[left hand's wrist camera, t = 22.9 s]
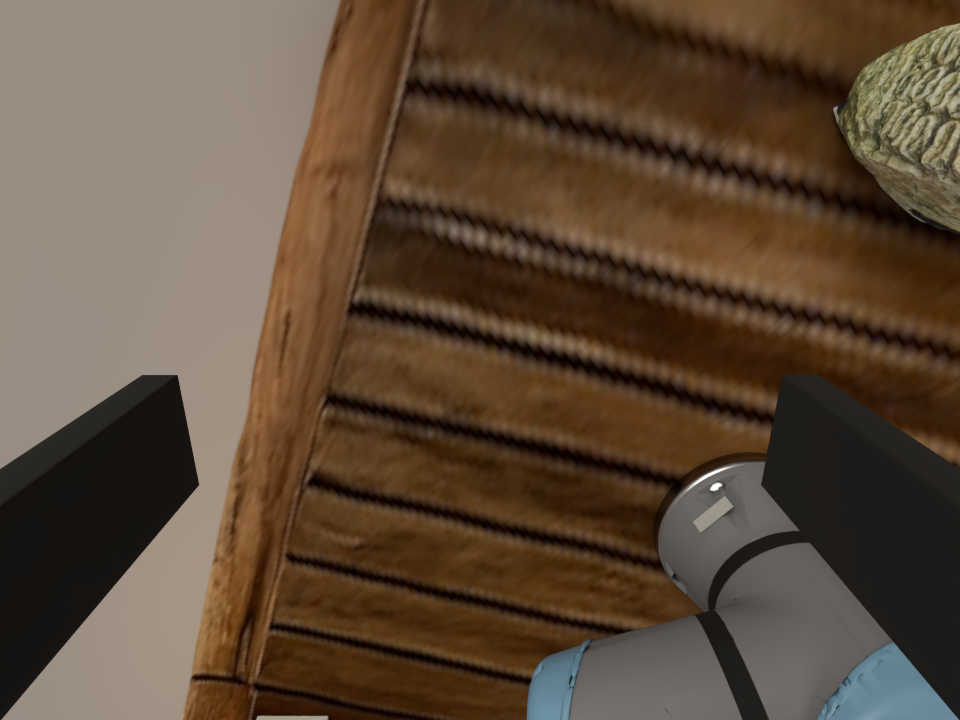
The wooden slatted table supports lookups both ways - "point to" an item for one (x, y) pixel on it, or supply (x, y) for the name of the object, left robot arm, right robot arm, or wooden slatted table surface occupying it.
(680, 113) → the wooden slatted table surface
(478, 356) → the wooden slatted table surface
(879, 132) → the fossil
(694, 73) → the wooden slatted table surface
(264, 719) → the brick
